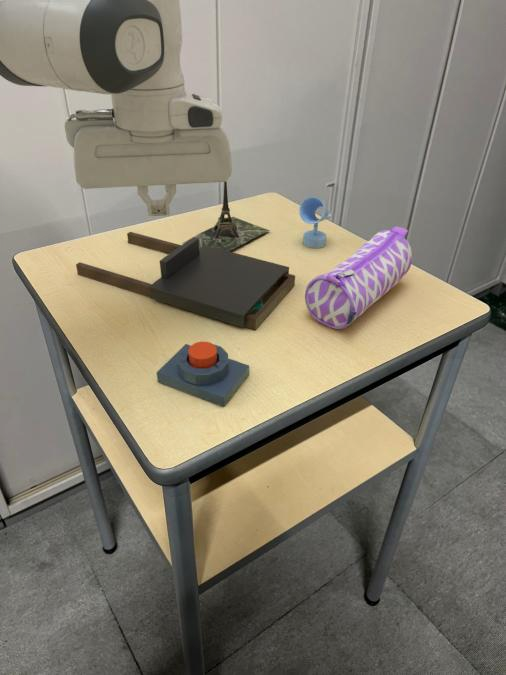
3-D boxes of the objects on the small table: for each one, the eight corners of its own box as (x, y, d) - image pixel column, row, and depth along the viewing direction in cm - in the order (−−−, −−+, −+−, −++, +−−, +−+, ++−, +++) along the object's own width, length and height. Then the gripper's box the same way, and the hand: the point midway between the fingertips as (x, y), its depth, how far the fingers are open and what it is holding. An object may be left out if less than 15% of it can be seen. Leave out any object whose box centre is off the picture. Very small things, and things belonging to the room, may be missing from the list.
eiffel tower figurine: (221, 259, 96) (220, 188, 88) (182, 243, 100) (177, 175, 92) (270, 232, 105) (273, 166, 97) (231, 218, 110) (231, 155, 102)
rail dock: (77, 274, 90) (75, 264, 89) (131, 240, 101) (130, 231, 99) (255, 330, 78) (255, 319, 76) (294, 285, 88) (295, 275, 87)
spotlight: (318, 253, 98) (331, 239, 103) (323, 203, 92) (337, 191, 97) (294, 247, 100) (308, 234, 105) (298, 197, 94) (313, 186, 99)
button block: (157, 382, 68) (155, 361, 66) (186, 353, 73) (185, 333, 71) (223, 407, 64) (223, 386, 62) (249, 375, 69) (249, 354, 67)
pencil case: (348, 343, 76) (358, 287, 70) (296, 320, 80) (300, 266, 74) (410, 283, 90) (422, 233, 84) (362, 266, 94) (370, 218, 89)
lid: (149, 298, 83) (146, 269, 80) (204, 255, 95) (203, 229, 92) (243, 327, 77) (243, 298, 74) (288, 278, 89) (290, 251, 86)
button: (183, 364, 66) (182, 353, 65) (198, 348, 69) (198, 338, 68) (207, 372, 65) (207, 362, 64) (222, 357, 67) (221, 346, 66)
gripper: (59, 117, 59) (80, 228, 68) (234, 112, 63) (234, 218, 71) (63, 104, 64) (82, 209, 72) (225, 100, 68) (226, 201, 76)
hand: (158, 214), depth 72 cm, fingers closed
